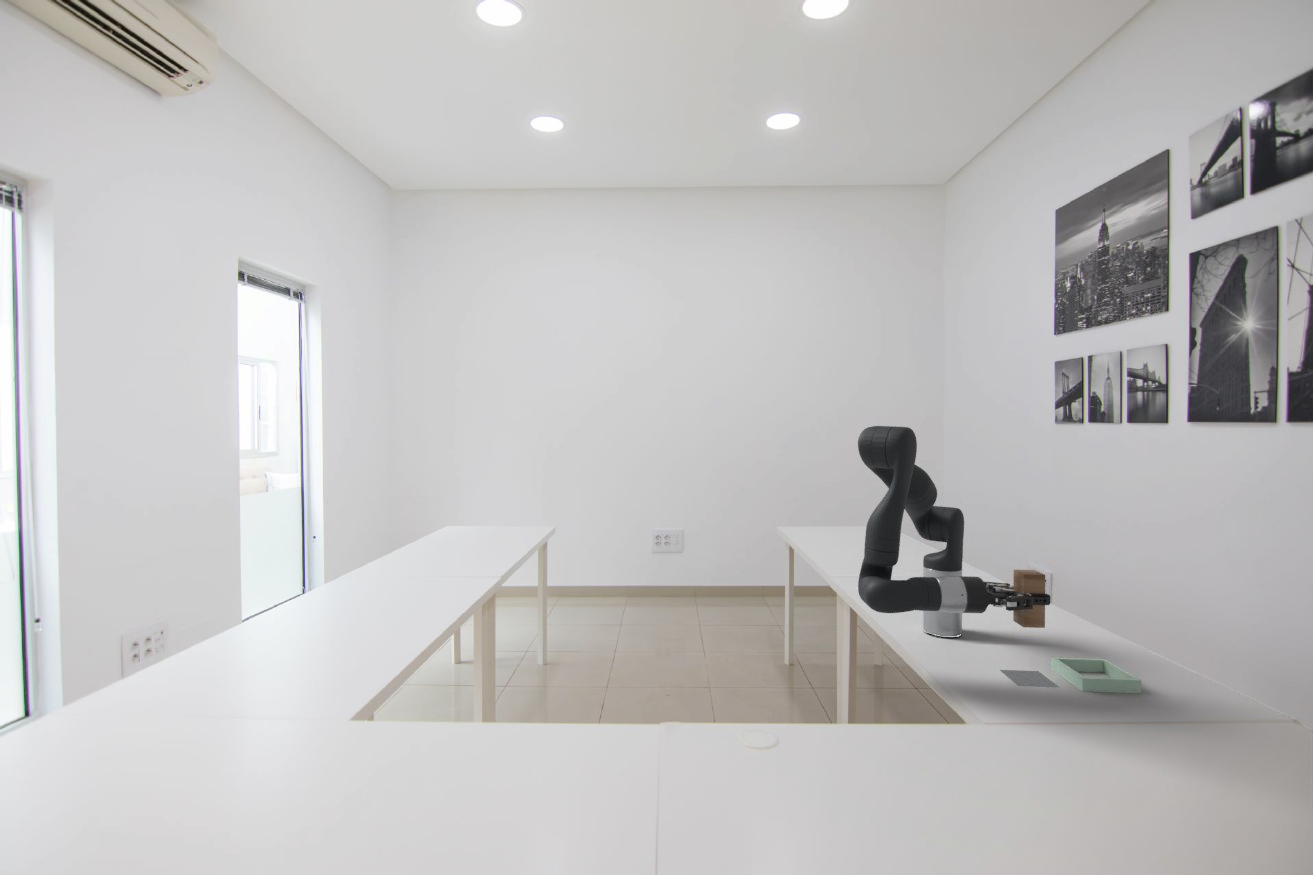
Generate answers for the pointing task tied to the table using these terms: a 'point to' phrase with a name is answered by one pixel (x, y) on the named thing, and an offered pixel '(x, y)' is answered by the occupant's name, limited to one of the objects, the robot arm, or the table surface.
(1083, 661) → the tray
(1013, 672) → the mount plate
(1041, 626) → the block
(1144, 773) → the table surface
